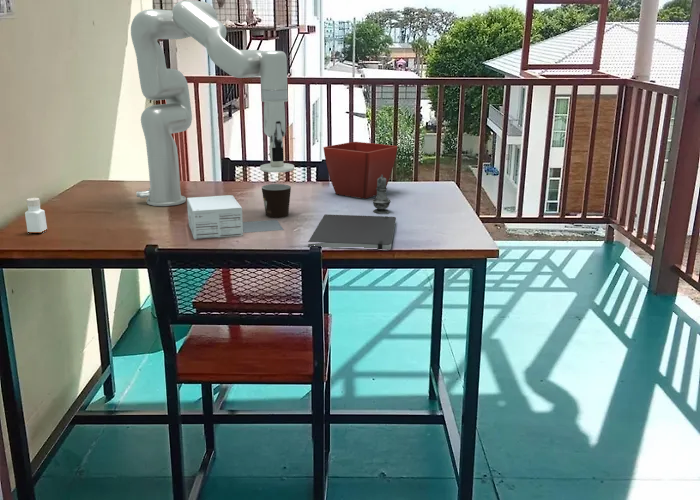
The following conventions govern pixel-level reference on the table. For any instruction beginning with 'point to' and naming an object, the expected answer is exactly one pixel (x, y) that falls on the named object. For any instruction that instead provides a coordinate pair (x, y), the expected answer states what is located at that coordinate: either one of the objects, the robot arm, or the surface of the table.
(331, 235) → the notebook
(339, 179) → the plant pot
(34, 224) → the salt shaker
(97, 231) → the table surface
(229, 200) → the supplement box
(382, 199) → the grey stone figurine
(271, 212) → the coffee mug
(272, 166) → the lid
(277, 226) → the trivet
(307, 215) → the table surface
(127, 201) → the table surface
